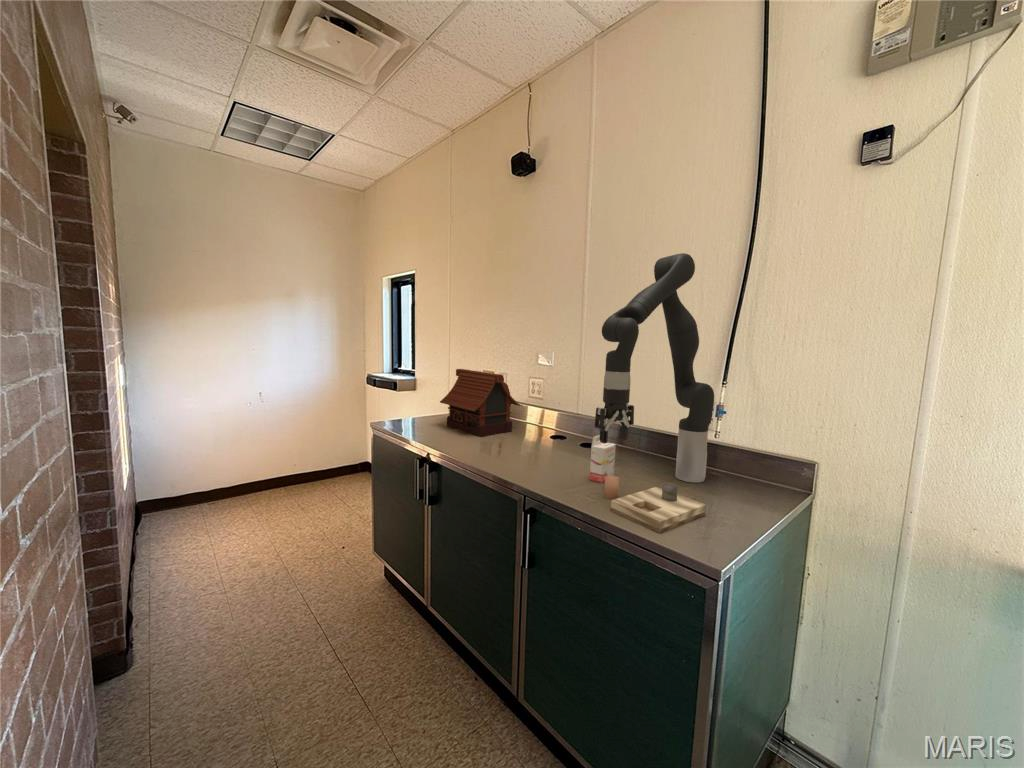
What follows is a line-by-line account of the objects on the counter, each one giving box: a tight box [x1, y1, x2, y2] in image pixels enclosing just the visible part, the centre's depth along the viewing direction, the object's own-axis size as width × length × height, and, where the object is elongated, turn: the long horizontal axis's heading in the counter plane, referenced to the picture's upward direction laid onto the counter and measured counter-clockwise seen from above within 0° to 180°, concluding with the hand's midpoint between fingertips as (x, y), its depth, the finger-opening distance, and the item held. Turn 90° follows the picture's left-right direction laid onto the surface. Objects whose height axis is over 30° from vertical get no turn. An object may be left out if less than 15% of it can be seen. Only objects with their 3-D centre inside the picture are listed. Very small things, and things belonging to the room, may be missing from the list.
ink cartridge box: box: [589, 434, 617, 484], centre depth 145 cm, size 9×5×15 cm, turn 141°
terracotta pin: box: [603, 475, 620, 500], centre depth 129 cm, size 4×4×6 cm
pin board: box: [610, 482, 707, 534], centre depth 118 cm, size 20×16×7 cm
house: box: [439, 368, 521, 438], centre depth 215 cm, size 35×28×29 cm
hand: (613, 441), depth 127 cm, fingers open, 8 cm apart
